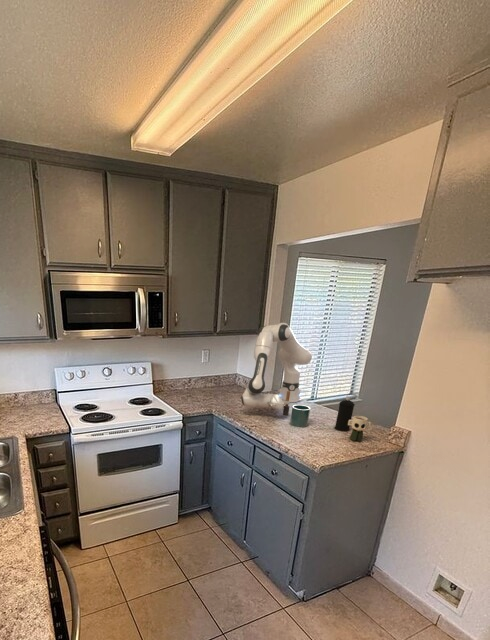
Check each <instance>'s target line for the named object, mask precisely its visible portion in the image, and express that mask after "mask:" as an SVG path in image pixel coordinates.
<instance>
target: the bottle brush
mask: <svg viewBox="0 0 490 640" xmlns="http://www.w3.org/2000/svg"><path fill="white" fill-rule="evenodd" d="M289 397H290V391H287V395H286V401H289ZM289 413H290V403H289V404H285V405H284V408H282V416H285V417H288V416H289Z"/></svg>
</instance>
